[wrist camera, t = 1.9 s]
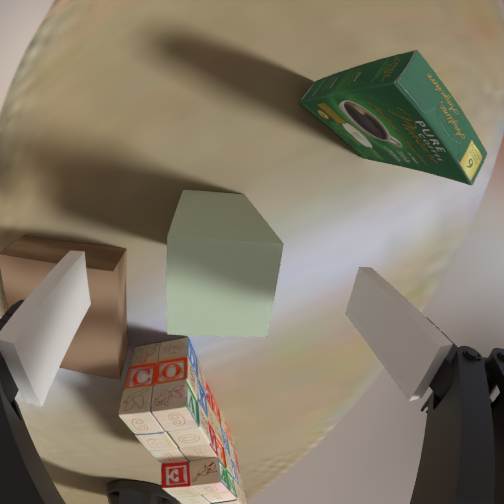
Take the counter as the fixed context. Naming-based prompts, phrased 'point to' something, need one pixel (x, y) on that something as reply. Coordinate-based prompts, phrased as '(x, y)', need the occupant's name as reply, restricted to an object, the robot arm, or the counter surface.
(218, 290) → the sage block
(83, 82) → the counter surface
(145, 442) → the stack of blocks
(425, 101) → the coffee box
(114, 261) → the walnut block
